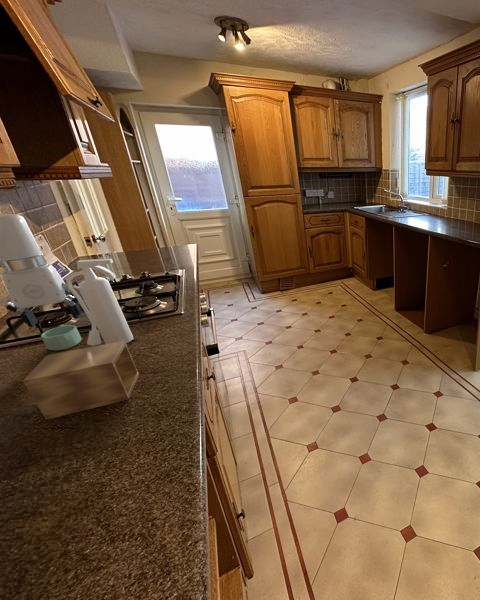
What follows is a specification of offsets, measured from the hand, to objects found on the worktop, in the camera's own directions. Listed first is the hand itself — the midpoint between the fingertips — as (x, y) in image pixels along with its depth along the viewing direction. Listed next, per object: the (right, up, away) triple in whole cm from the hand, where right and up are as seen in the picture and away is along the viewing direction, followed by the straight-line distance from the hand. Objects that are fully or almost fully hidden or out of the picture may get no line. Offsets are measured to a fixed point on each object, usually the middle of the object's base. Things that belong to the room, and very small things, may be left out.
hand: (56, 320), depth 91 cm
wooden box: (+28, -16, -17) cm, 37 cm away
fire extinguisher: (+14, -7, +4) cm, 16 cm away
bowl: (0, -7, +3) cm, 8 cm away
